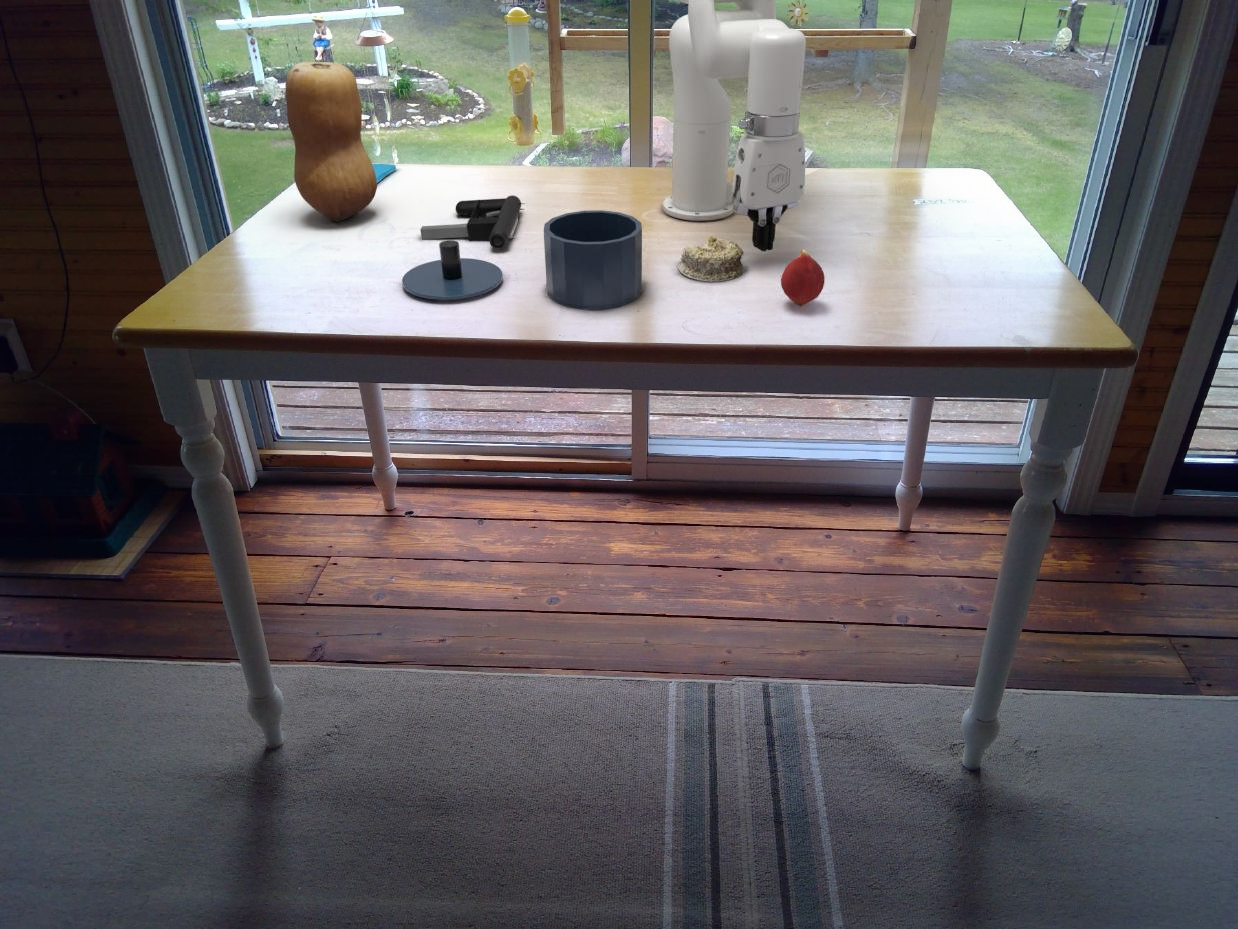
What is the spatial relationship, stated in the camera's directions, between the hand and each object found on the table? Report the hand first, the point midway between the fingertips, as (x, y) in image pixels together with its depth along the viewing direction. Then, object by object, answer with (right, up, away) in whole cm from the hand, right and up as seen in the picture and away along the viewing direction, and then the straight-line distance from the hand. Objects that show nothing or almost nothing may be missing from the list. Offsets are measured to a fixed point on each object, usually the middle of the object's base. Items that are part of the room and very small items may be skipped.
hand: (762, 247), depth 144 cm
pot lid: (-46, -6, -6) cm, 47 cm away
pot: (-26, -8, -8) cm, 28 cm away
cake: (-8, -4, -1) cm, 9 cm away
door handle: (-46, +6, +14) cm, 49 cm away
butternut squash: (-70, +10, +20) cm, 74 cm away
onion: (+3, -11, -13) cm, 17 cm away
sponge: (-70, +22, +39) cm, 83 cm away
